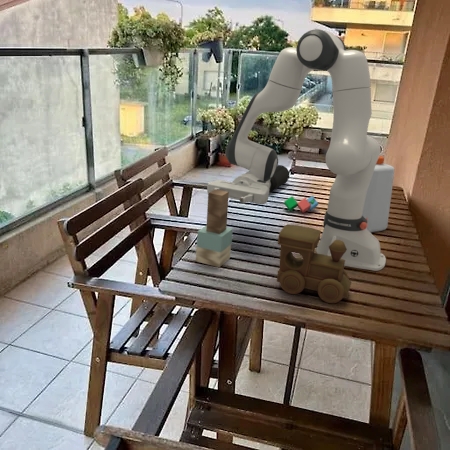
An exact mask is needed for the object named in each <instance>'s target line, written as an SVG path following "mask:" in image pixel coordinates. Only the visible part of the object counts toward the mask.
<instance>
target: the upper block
mask: <svg viewBox="0 0 450 450" xmlns="http://www.w3.org/2000/svg"><path fill="white" fill-rule="evenodd" d="M206 228H207V224H206V225H205V226H203V227H202V228H200V229H199V230H197V233H196V235H197V239H196V246H197V247H201V248H205V249H209V250H213V251H217V252H222V251H223V250H224V249H226V248H227V247H228V246H229V245H231V246H232V243H233V233H234V232H233V231H234V228H232V227H227V226H226V230H225V231H223V232H222V233H221V234H217V233H213V232H209V231H206Z"/></svg>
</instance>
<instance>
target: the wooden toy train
mask: <svg viewBox="0 0 450 450" xmlns="http://www.w3.org/2000/svg"><path fill="white" fill-rule="evenodd" d="M321 234H322V230H320V229H317V228H316V229H315V228H313V227H307V226H303V225H297V224H289V223H287V224H286V225H284V226H283V227H282V229H281V230H280V232H279V234H278V236H277V237H278V239H277V245H278V246H280V251H279V268H278V270H277V277H276V282H277V283H279V285H280V287H281V289H282V290H283V291H285V293H287V294H290V295H297V294H300V293H301V292H303V290H304V289H308V290H312V291H316V292H317V294H318V297H319V298H320V299H321V300H322V301H324V302H325V303H327V304H336V303H339V302H340V301H342V300H343V298H346V299H347V298H348V296H349V292H350V288H351V284H352V282H351V280H350V279H349V274H348V272H347V271H346V269H344V268H345V266H344V264H345V260H344V259H341V257H342V256H343V254H344V253H345V252H346V250H347V248H346V246H345V244H344V242H343V241H341V240H335V241H334V242H333V243H332V244H331V245H330V246H329V249H330V253H331V256H328V255H323V254H318V253H317V252H316V248H317V246H318V244H319V242H320V239H321ZM293 252H295V253H296V254H298V255H300V256H301V257H295V255H294V254H293ZM315 252H316V253H315Z"/></svg>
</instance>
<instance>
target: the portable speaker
mask: <svg viewBox="0 0 450 450" xmlns="http://www.w3.org/2000/svg"><path fill="white" fill-rule="evenodd" d="M289 179H290V172H289V169H288V168H287V167H286V166H284V165H281V164H280V165H279V164H278V166H277V169H276V172H275V174H274V176H273V177H272V178H271V179H270V183H269V186H270V187H269V194H271V193H273V192H274V191H276V190H277V189H279V188H280V187H281V186H283V185H284V184H286V183H287V182H288V181H289Z"/></svg>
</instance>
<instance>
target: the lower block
mask: <svg viewBox="0 0 450 450" xmlns="http://www.w3.org/2000/svg"><path fill="white" fill-rule="evenodd" d="M231 251H232V244H231V245H229V246H228V247H227V248H226V249H224V250H223V251H222V252H217V251H213V250H209V249H205V248H201V247H197V245H196V248H195V252H196V253H195V262H197V263H200V264H201V263H202V264H204V265H209V266H212V267H215V268H220V267H221V266H222V265H224V264H225V263H226V262H227V261H229V260H230V258H231Z"/></svg>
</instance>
